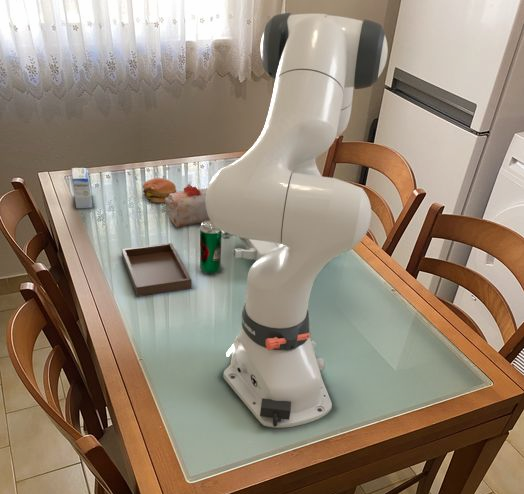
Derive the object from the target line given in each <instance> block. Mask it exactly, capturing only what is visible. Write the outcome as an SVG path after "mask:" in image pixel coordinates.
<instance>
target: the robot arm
mask: <svg viewBox="0 0 524 494" xmlns="http://www.w3.org/2000/svg"><path fill="white" fill-rule="evenodd" d="M388 47H389V46H388V41H387V37H386V31H385V29H384V27H383V26H382V24H381V23H379V22H376V21H373V20H370V19H367V18H364V20H360V19H356V18H352V17H351V18H350V17H346V16H341V15H340V16H339V15H330V14H327V13H298V14H292V13H291V12H284V13H279V14H275V15H273V16H272V17H271V18H270V19H269V20H268V21H267V22H266V24H265V27H264V30H263V33H262V36H261V41H260V57H261V61H262V67H263V70H264V71H265V72H266V74H267V75H268V77H270V78H271V79H274V85H273V89H272V95H271V99H270V105H269V108H268V113H267V116H266V120H265V123H264V126H263V128H262V131H261V132H260V134H259V136H258V138H257V139H256V141H255V142H254V143H253V145H252V146H251V147H250V148H249V149H248V150H247V151H246V152H245V153H244V154H243V155H242V156H240V157H239V158H238V159H237V160H235V161H233V162H232V163H230V164H228V165H225V166H223V167H221V168H220V169H219V170H218V171H217V172H216V173H215V174H214V175H213V176H212V178H211V179H210V181H209V183H208V186H207V187H206V188H207V192H206V199H205V202H206V210H207V214H208V216H209V219H210V221H211V222H212V224H213V225H214V227H215V228H217V229H219V230H222V236H221V239H223V240H228V239H230V238H231V237H233V236H234V237H238V238H239V240H240V241H241V242H242V244H243V245H244V247H245V248H246V249H244V248H242V247H238V248H237V247H236V248H234V249H233V255H234V257H235V258H236V259H241V258H242V259H247V260H254V261H255V262H254V263H252V264H251V266H250V268H249V270H248V272H247V277H246V291H245V292H246V293H245V302H244V303H243V306H242V311H241V328H240V331H239V332H238V334H237V336H236V337H235V338H234V340H233V344H232V345H231V347H230V348H229V349H228V350H227V351H226V357H230V355H231V359H230V365H229V366H227V368H226V369H224V371H223V375H222V378H223V380H224V381H225V382H226V383H227V384H228V385H229V387H230V388H231V389H232V390H233V392H234V393H235V394H236V395H237V396H238V397H239V399H240V400H241V401H242V402H243V403H244V405H245V406H246V407H247V409H248V410H249V411H250V412H251V413H252V415H253V416H254V417H255V418H256V420H258V422H259V423H260V424H261V425H262V426H264V427H268V428H277V429H280V428H281V429H282V428H292V427H296V426H297V427H298V426H302V425H305V424H309V423H312V422H314V421H315V422H316V421H318V420H319V419H322V418H324V417H325V416H326V415H327V414H329V412H330V411H331V410H332V407H333V403H332V400H331V398H330V396H329V393H328V390H327V387H326V385H325V382H324V380H323V377H322V373H321V371H323V370H325V366H326V365H325V364H326V363H325V360H324V358H323V357H317V356H316V353H315V350H314V348H316V341H315V340H312V339H311V336H310V335H312V333H311V332H310V324H311V323H310V321H311V320H310V315H309V303H310V297H311V293H312V289H313V286H314V283H315V281H316V279H317V277H318V275H319V273H320V272H321V270H323V268H324V267H325V266H326V265H327V264H329V263H330V262H331V261H332V260H333V259H335V258H337V257H338V256H341V255H342V254H344V253H346V252H349V251H351V250H353V249H355V248H356V247H357V246H358V245H359V244H360V243H361V242H362V241H363V240H364V238H365V237H366V236H367V233H368V232H369V229H370V227H371V222H372V205H371V201H370V199H369V196H368V195H367V193H366V191H365V190H364V188H363V187H361V186H358V185H355V184H354V183H350V182H347V181H344V180H342V179H339V178H335V177H329V176H323V175H322V174H321V173H320V171H319V168H318V166H317V163H316V161H317V158H318V157H320V156H321V155H323V154H324V153H325V152H327V151H328V150H329V149H330V147H332V146H333V144H334V142H335V140H336V138H338V137H339V136H341V135H342V134H343V133H344V132H345V130H347V128H348V125H349V122H350V118H351V115H352V114H351V113H352V108H353V98H354V97H353V96H354V90H361V89H367V88H370V87H372V86H374V84H376V83H377V82H378V80H379V78H380V76H381V75H382V73H383V71H384V69H385V67H386V64H387V61H388V60H387V59H388V53H389V50H388V49H389V48H388Z"/></svg>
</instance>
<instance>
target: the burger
mask: <svg viewBox="0 0 524 494" xmlns="http://www.w3.org/2000/svg"><path fill="white" fill-rule="evenodd" d="M142 189H143V190H142V192H143V196H144V197H145V199H147V200H150V202H151V203H156V204H166V202H165V199H166V197H167V198H168V197H169V194H171V193H175V192H177V186H176V185H175V183H174V182H172V181H171V180H169V179H167V178H163V177H155V178H151V179H148V180H146V181H145V182H144V183H143V184H142Z"/></svg>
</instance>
